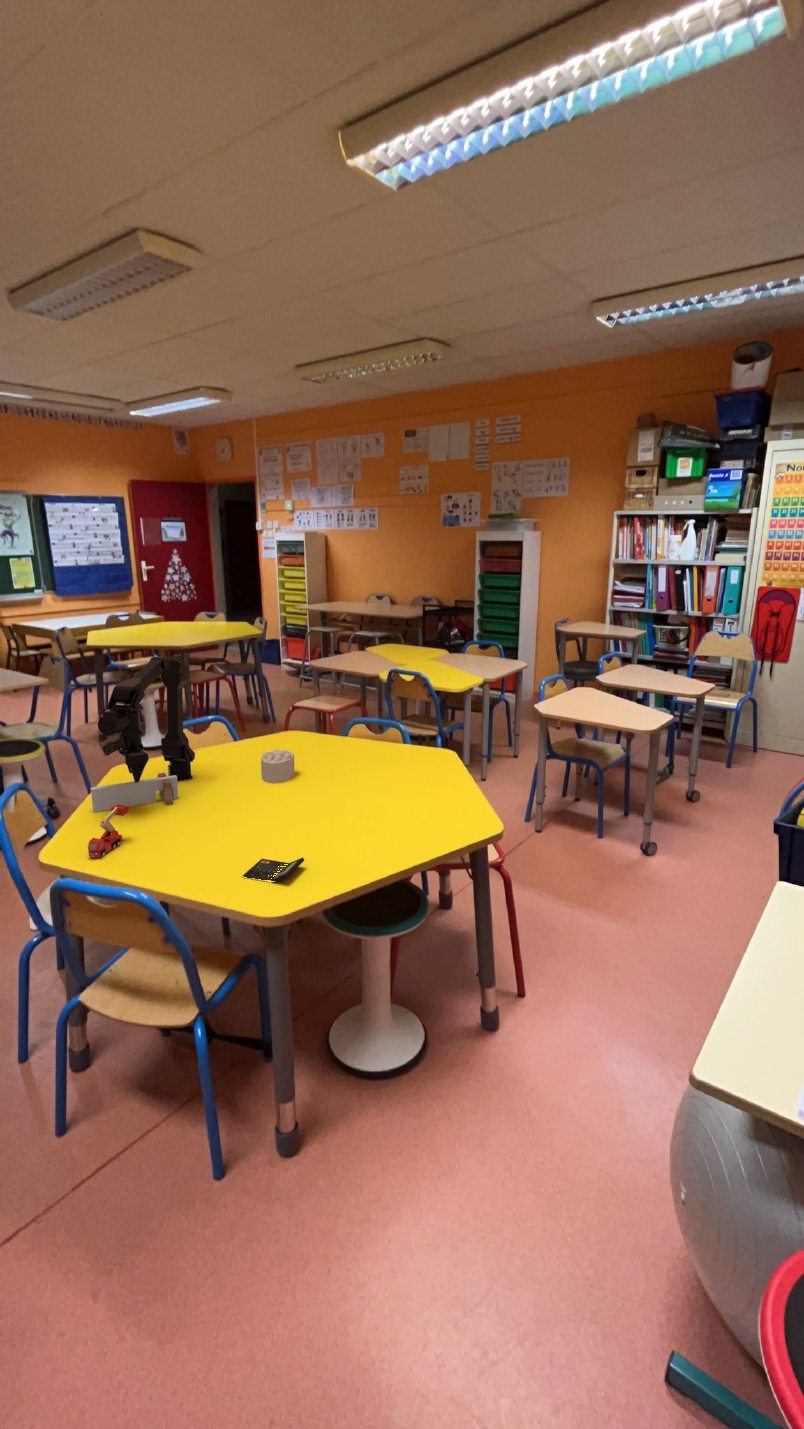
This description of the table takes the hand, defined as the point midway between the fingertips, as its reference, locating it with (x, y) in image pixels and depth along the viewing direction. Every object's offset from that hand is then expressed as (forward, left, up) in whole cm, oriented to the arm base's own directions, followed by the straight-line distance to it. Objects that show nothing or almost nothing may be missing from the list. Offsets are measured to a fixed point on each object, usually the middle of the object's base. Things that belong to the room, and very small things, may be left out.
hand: (134, 777), depth 194 cm
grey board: (0, 0, -8) cm, 9 cm away
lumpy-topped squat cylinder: (-46, -4, -9) cm, 47 cm away
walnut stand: (-9, 0, -8) cm, 12 cm away
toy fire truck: (+11, +28, -9) cm, 31 cm away
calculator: (-21, +61, -9) cm, 65 cm away
